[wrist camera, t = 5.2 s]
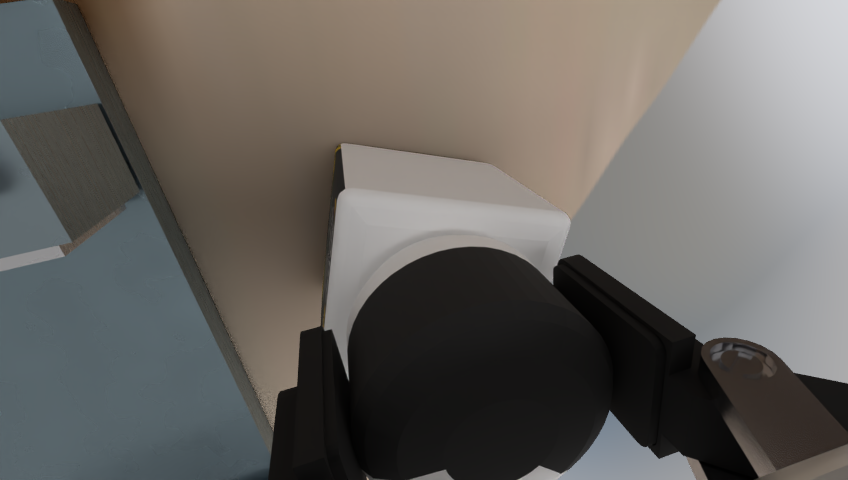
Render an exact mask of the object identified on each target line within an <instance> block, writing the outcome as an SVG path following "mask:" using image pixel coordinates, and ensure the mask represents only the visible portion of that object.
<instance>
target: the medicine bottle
mask: <svg viewBox="0 0 848 480" xmlns="http://www.w3.org/2000/svg"><path fill="white" fill-rule="evenodd" d="M570 223H571V221H570V219H569V217H568V215H567V214H566V213H565V212H563V211H562V210H560V209H559V208H557V207H556V206H554V205H553V204H551V203H550V202H548V201H547V200H545V199H544V198H542V197H541V196H539V195H538V194H536V193H534V192H533V191H531V190H530V189H528V188H527V187H525V186H524V185H522V184H521V183H519V182H518V181H516V180H515V179H513V178H512V177H510V176H509V175H507V174H506V173H504V172H503V171H501V170H500V169H498V168H497V167H495V166H494V165H492V164H490V163H483V162H475V161H468V160H461V159H454V158H447V157H440V156H433V155H426V154H419V153H412V152H404V151H397V150H390V149H383V148H376V147H369V146H362V145H355V144H348V143H343V144H340V145H338V146H337V148H336V150H335V159H334V170H333V181H332V191H331V202H330V212H329V223H328V233H327V244H326V255H325V265H324V276H323V286H322V310H321V326H323V328H324V330H325V331H326V330H330V329H332V331H333V334H334V337H335V340H336V343H337V346H338V349H339V352H340V355H341V359H342V362H343V365H344V368H345V371H346V374H347V377H348V380H349V395H350V414H351V433H352V445H353V449H354V452H355V455H356V458H357V461H358V463H359V465H360V468H361V469H362V471H363V472H364V473H365V475H366V476H367V477H368V479H369V480H556V479H558V478H559V477H560V476H561V475H563V474H564V473H565V472H566V471H568V470H569V469H570V468H571V467H572V466H573V465H574V464H575V463H576V462H577V461H578V460H579V459H580V458H581V457H582V456H583V455H584V454H585V452H586V451H587V450H588V449H589V448H590V446H591V445H592V444H593V442H594V441H595V439H596V438H597V436H598V434H599V432H600V431H601V429H602V427H603V425H604V423H605V421H606V418H607V415H608V413H609V409H610V404H611V400H612V390H613V373H614V372H613V365H612V358H611V355H610V352H609V349H608V347H607V345H606V343H605V341H604V340H603V338H602V336H601V335H600V334H599V332H598V331H597V330H596V329H595V328H594V327H593V326H592V324H591V323H590V322H589V321H588V320H587V319H586V318H585V317H584V316H583V315H582V314H581V313H580V312H579V311H578V310H577V309H576V308H575V307H574V306H573V305H572V304H571V303H570V302H569V301H568V300H567V299H566V298H565V297H564V296H563V295H562V294H561V293H560V292H559V291H558V290H557V289H556V288H555V287H554V286H553V285H552V284H551V282H552V279H553V268H554V267H555V266H557V263H558V261H559V258H560V255H561V252H562V249H563V246H564V243H565V240H566V237H567V234H568V231H569V228H570Z"/></svg>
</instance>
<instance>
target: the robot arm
mask: <svg viewBox="0 0 848 480" xmlns="http://www.w3.org/2000/svg"><path fill="white" fill-rule="evenodd" d="M553 286H554V287H555V288H556V289H557V290H558V291H559V292H560V293H561V294H562V295H563V296H564V297H565V298H566V299H567V300H568V301H569V302H570V303H571V304H572V305H573V306H574V307H575V308H576V309H577V310H578V311H579V312H580V313H581V314H582V315H583V316H584V317H585V318H586V319H587V320H588V321H589V322H590V323H591V324H592V326H593V327H594V328H595V329H596V330H597V331H598V332H599V334H600V335H601V336H602V338H603V340H604V341H605V343H606V345H607V347H608V349H609V352H610V355H611V358H612V365H613V372H614V373H613V390H612V400H611V404H610V409H609V410H610V411H611V412H612V413H613V414H614V416H615V417H616V418H617V419H618V420H619V421H620V423H621V424H622V425H623V426H624V427H625V428H626V429H627V431H629V433H630V434H631V435H632V436H633V438H634V439H635V440H636V441H637V442H638V443H639V444H640V445H641V446H643V447H647V446H648V447H649V448H650V449H651V451H652V452H653V453H654V454H655V455H656V456H657V457H658V458H659V459H660V458H662V457H665V456H668V455H670V454H673V453H676V452H678V451H679V452H680V453H681V454H682V455H683V456H686V457H687V460H688V463H689V465H690V467H691V469H692V471H693V473H694V476H695V478H696V480H848V384H847V383H842V382H836V381H832V380H827V379H822V378H817V377H812V376H807V375H801V374H796V373H793V372H792V371H791V370H790V368H789V367H788V366H787V365H786V364H785V363H784V362H783V361H782V360H781V359H780V358H779V357H778V356H777V355H776V354H775V353H773V352H772V351H770V350H768V349H767V348H765V347H763V346H761V345H758V344H756V343H753V342H750V341H747V340H742V339H737V338H718V339H713V340H711V341H708V342H706V343H705V344H704V345H703V344H702V343H700V342H699V341H698V340H696V339H695V337H696V335H695V334H694V333H692V332H691V331H689V330H688V329H686V328H685V327H684V326H682V325H681V324H679V323H678V322H676V321H675V320H674V319H672V318H671V317H669V316H668V315H666V314H665V313H663V312H662V311H661V310H659V309H658V308H656V307H655V306H653V305H652V304H650V303H649V302H648V301H646V300H645V299H643V298H642V297H640V296H639V295H638V294H636V293H635V292H633V291H632V290H630V289H629V288H627V287H626V286H624V285H623V284H622V283H620V282H619V281H617V280H616V279H614V278H613V277H612V276H610V275H609V274H607V273H606V272H604V271H603V270H601V269H600V268H598V267H597V266H596V265H594V264H593V263H591V262H590V261H589V260H587V259H585V258H584V257H583V256H581V255H574V256H571V257H567V258H563V259H560V260H559V261H558V263H557V266H555V267H554V268H553ZM268 480H367V478H366V475H365V473H364V472H363V471H362V469H361V468H360V465H359V463H358V461H357V458H356V455H355V452H354V449H353V445H352V433H351V414H350V395H349V380H348V377H347V374H346V371H345V368H344V365H343V362H342V359H341V355H340V352H339V349H338V346H337V343H336V340H335V337H334V334H333V331H332V329H330V330H326V331H325V330H324V328H323V326H320V327H317V328H313V329H309V330H306V331H302V332H301V334H300V348H299V365H298V382H297V387H294V388H290V389H287V390H284V391H280V393H279V394H278V399H277V407H276V415H275V424H274V432H273V441H272V449H271V458H270V466H269V475H268Z"/></svg>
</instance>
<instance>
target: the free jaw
mask: <svg viewBox="0 0 848 480" xmlns="http://www.w3.org/2000/svg"><path fill="white" fill-rule="evenodd" d="M139 192H140V191H139V189H138V187H137V185H136V183H135V180H134V178H133V176H132V174H131V172H130V170H129V168H128V166H127V164H126V162H125V160H124V158H123V156H122V154H121V152H120V149H119V147H118V145H117V143H116V141H115V139H114V137H113V135H112V133H111V131H110V129H109V127H108V125H107V123H106V121H105V118H104V116H103V114H102V112H101V110H100V108H99V106H98V104H91V105H85V106H79V107H73V108H67V109H61V110H55V111H49V112H44V113H38V114H32V115H26V116H20V117H14V118H8V119H2V120H0V271H5V270H9V269H13V268H17V267H22V266H26V265H30V264H35V263H39V262H43V261H48V260H52V259H56V258H61V257H65V256H66V255H68V254H69V253H70V252H72V251H73V250H74V249H75V248H77V247H78V246H79V245H81V244H82V243H83V242H84V241H86V240H87V239H88V238H89V237H91V236H92V235H93V234H95V233H96V232H97V231H98V230H100V229H101V228H102V227H104V226H105V225H106V224H107V223H109V222H110V221H111V220H113V219H114V218H115V217H116V216H118V215H119V214H120V213H122V212H123V211H124V210H125V209H127V208H126V206H125V203H126V202H127V201H129V200H130V199H131V198H133V197H134V196H135V195H137V194H138V193H139Z"/></svg>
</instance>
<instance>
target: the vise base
mask: <svg viewBox="0 0 848 480" xmlns="http://www.w3.org/2000/svg"><path fill="white" fill-rule="evenodd" d="M91 104H98V106H99V108H100V110H101V112H102V114H103V116H104V118H105V121H106V123H107V125H108V127H109V129H110V131H111V133H112V135H113V137H114V139H115V141H116V143H117V145H118V147H119V149H120V152H121V154H122V156H123V158H124V160H125V162H126V164H127V166H128V168H129V170H130V172H131V174H132V176H133V178H134V180H135V183H136V185H137V187H138V189H139V191H140V192H139V193H138V194H137V195H135V196H134V197H133V198H131V199H130V200H129V201H127V202H126V203H125V206H126V208H127V209H125V210H124V211H123V212H122V213H120V214H119V215H118V216H116V217H115V218H114V219H113V220H111V221H110V222H109V223H107V224H106V225H105V226H104V227H102V228H101V229H100V230H98V231H97V232H96V233H95V234H93V235H92V236H91V237H89V238H88V239H87V240H86V241H84V242H83V243H82V244H81V245H79V246H78V247H77V248H75V249H74V250H73V251H72V252H70V253H69V254H68V255H66V256H65V257H61V258H56V259H52V260H48V261H43V262H39V263H35V264H30V265H26V266H22V267H17V268H13V269H9V270H5V271H0V480H268V475H269V466H270V458H271V449H272V441H273V431H272V429H271V427H270V425H269V422H268V420H267V418H266V416H265V414H264V412H263V409H262V407H261V405H260V403H259V401H258V398H257V396H256V394H255V392H254V390H253V388H252V385H251V383H250V381H249V379H248V377H247V375H246V372H245V370H244V368H243V366H242V364H241V361H240V359H239V357H238V355H237V353H236V351H235V348H234V346H233V344H232V342H231V340H230V337H229V335H228V333H227V331H226V329H225V327H224V324H223V322H222V320H221V318H220V316H219V313H218V311H217V309H216V307H215V305H214V303H213V300H212V298H211V296H210V294H209V292H208V289H207V287H206V285H205V283H204V281H203V279H202V276H201V274H200V272H199V270H198V268H197V266H196V263H195V261H194V259H193V257H192V255H191V252H190V250H189V248H188V246H187V244H186V242H185V239H184V237H183V235H182V233H181V231H180V228H179V226H178V224H177V222H176V220H175V218H174V215H173V213H172V211H171V209H170V207H169V204H168V202H167V200H166V198H165V196H164V194H163V191H162V189H161V187H160V185H159V183H158V180H157V178H156V176H155V174H154V172H153V170H152V167H151V165H150V163H149V161H148V159H147V157H146V154H145V152H144V150H143V148H142V146H141V143H140V141H139V139H138V137H137V135H136V133H135V130H134V128H133V126H132V124H131V122H130V119H129V117H128V115H127V113H126V111H125V109H124V106H123V104H122V102H121V100H120V98H119V95H118V93H117V91H116V89H115V87H114V85H113V82H112V80H111V78H110V76H109V74H108V71H107V69H106V67H105V65H104V63H103V61H102V58H101V56H100V54H99V52H98V50H97V48H96V45H95V43H94V41H93V39H92V37H91V34H90V32H89V30H88V28H87V26H86V24H85V21H84V19H83V17H82V15H81V13H80V10H79V8H78V6H77V4H74V3H70V2H67V1H63V0H25V1H17V2H10V3H2V4H0V120H2V119H8V118H14V117H20V116H26V115H32V114H38V113H44V112H49V111H55V110H61V109H67V108H73V107H79V106H85V105H91Z"/></svg>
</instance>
